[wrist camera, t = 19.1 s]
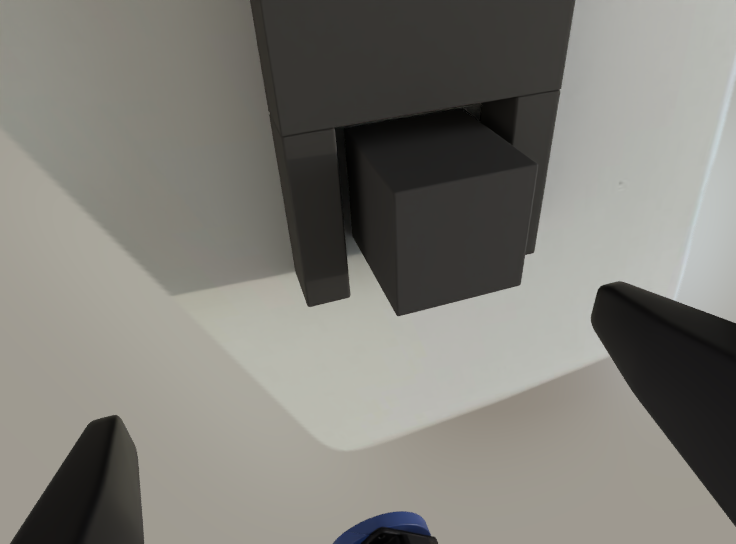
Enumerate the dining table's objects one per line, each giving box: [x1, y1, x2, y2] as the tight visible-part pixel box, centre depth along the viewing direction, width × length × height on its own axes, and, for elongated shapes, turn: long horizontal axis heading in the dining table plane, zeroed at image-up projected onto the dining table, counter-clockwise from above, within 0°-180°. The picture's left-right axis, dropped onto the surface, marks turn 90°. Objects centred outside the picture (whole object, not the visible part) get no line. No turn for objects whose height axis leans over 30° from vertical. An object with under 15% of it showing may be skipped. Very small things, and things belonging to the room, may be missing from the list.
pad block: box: [344, 109, 538, 316], centre depth 19 cm, size 5×5×6 cm
